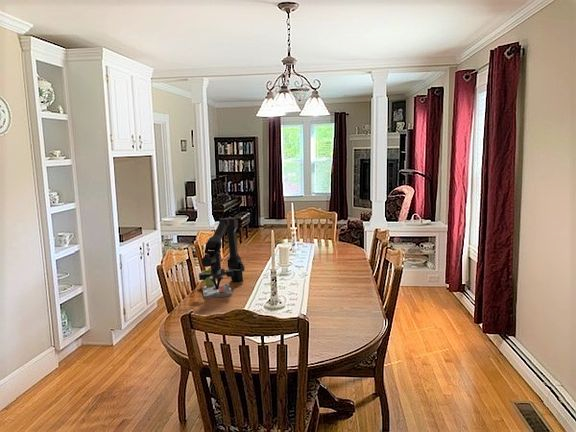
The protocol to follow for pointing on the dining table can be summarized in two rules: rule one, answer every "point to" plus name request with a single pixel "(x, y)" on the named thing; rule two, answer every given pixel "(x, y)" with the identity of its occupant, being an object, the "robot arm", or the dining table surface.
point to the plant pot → (208, 279)
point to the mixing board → (216, 291)
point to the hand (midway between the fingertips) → (217, 289)
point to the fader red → (221, 288)
